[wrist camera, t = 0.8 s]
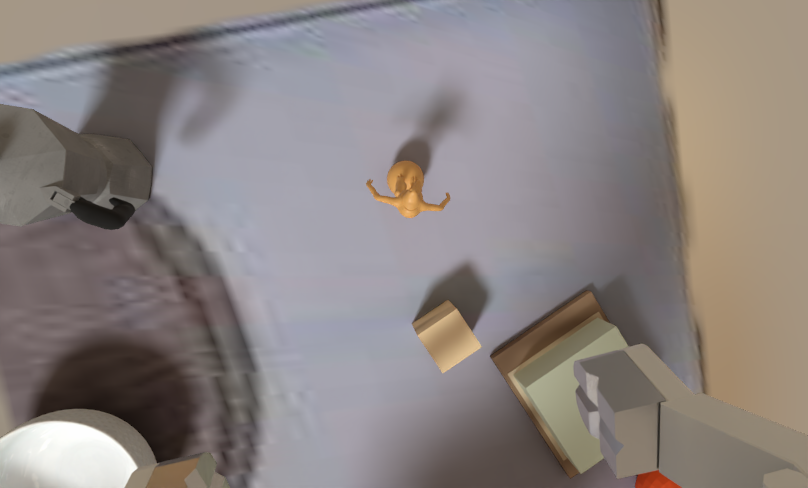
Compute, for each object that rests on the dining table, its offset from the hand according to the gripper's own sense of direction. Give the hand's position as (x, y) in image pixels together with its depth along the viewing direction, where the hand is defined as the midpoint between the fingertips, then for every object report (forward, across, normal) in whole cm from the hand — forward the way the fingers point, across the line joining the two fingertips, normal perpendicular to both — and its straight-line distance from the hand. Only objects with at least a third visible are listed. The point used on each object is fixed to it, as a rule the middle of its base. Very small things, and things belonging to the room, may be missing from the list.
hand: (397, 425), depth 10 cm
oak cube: (+37, +3, -24) cm, 44 cm away
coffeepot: (+43, -27, -1) cm, 51 cm away
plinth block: (+33, +17, -35) cm, 51 cm away
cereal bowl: (+32, -38, -28) cm, 57 cm away
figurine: (+42, +2, -9) cm, 43 cm away
